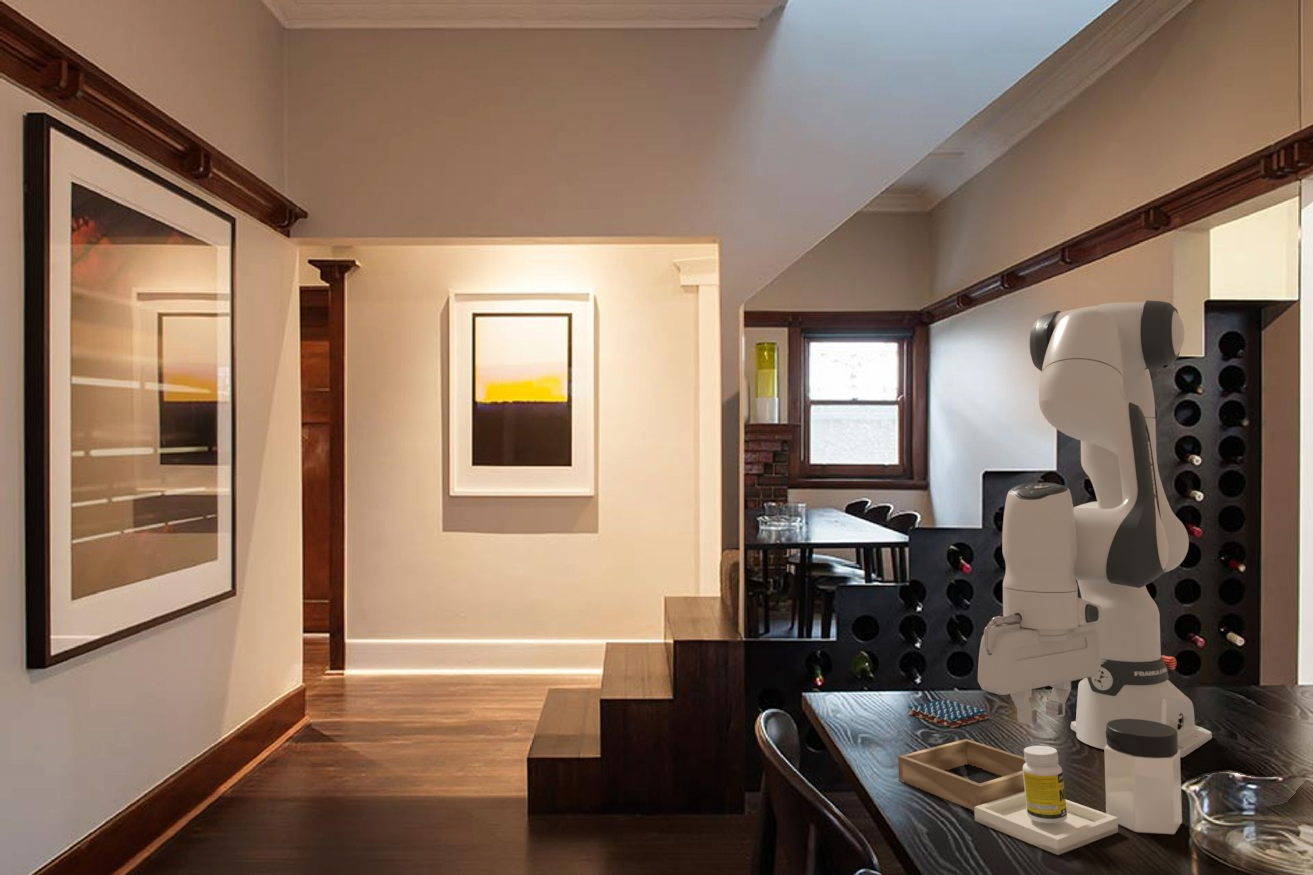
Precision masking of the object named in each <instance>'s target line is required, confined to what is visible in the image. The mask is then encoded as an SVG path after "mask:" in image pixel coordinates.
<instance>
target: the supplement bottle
mask: <svg viewBox="0 0 1313 875" xmlns="http://www.w3.org/2000/svg"><path fill="white" fill-rule="evenodd" d="M1023 757H1024V759H1025V762H1026V763H1025V764H1024V765H1023V779H1024V788H1025V798H1026V810H1027V815H1028V816H1029V817H1030V818H1031V819H1032V820H1034V821H1038V822H1042V823H1058V822H1062V821H1064V820H1066V818H1067V809H1066V800H1067V799H1066V794H1065V792H1066V791H1065V782H1064V772H1063V768H1062V767H1061V765H1060V764H1059V761H1060V760H1059V753H1058V750H1057V749H1056V748H1054V747H1052V746H1047V745H1032V746H1031V745H1030V746H1027V747H1025V748H1024V749H1023ZM1065 799H1066V800H1065Z"/></svg>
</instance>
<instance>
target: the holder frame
mask: <svg viewBox="0 0 1313 875" xmlns="http://www.w3.org/2000/svg"><path fill="white" fill-rule="evenodd" d="M897 761H898V781H899V782H902V781H904V782H906V783H905V784H907V783H908V784H907V785H909V784H911V785H910V786H912V787H914V786H915V788H917V789H919V788H920V789H919V790H921V791H924V792H927V793H929V794H932V795H934V796H936V797H939V798H941V799H944V800H947V801H948V802H952V803H954V804H957V805H958V806H961V807H964V808H967V809H970V810H971V809H972V811H973V812H975V809H974V807H976V806H979V805H982V804H985V803H988V802H992V801H995V800H998V799H1001V798H1004V797H1007V796H1011V795H1014V794H1017V793H1020V792H1023V791H1025V788H1024V779H1023V765H1024V764H1025V763H1026V762H1025V759H1024V756H1021V755H1019V754H1018V755H1017V754H1015V753H1011V752H1008V751H1005V750H1002V749H1000V748H997V747H993V746H990V745H987V744H983V743H980V742H977V741H974V740H971V739H968V738H965V739H960V740H955V741H953V742H949V743H945V744H940V745H937V746H932V747H929V748H925V749H921V750H918V751H914V752H909V753H906V754H902V755H899V756H898V759H897ZM965 764H966V765H968V764H970V765H969V766H971V765H972V766H971V767H974V766H976V767H975V768H977V767H978V769H980V768H982V769H981V770H983V771H986V772H989V773H992V774H995V775H997V776H1001V777H998V778H995V779H990V780H988V781H984V782H980V783H979V782H978V781H977V782H976V781H973V780H971V779H968V778H965V777H963V776H960V775H958V774H955V773H952V772H949V770H951V769H955V768H958V767H963V766H966V765H965ZM904 782H903V783H904Z"/></svg>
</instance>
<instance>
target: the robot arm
mask: <svg viewBox="0 0 1313 875" xmlns="http://www.w3.org/2000/svg"><path fill="white" fill-rule="evenodd" d="M1180 316H1181V315H1180V314H1179V311H1178V309H1177V308H1176V307H1175V306H1174V305H1173V304H1172V303H1171V302H1167V301H1162V300H1146V301H1145V302H1140V301H1139V302H1137V301H1135V302H1134V301H1133V302H1132V301H1131V302H1126V301H1125V302H1110V303H1109V302H1107V303H1101V304H1099V305H1092V306H1086V307H1079V308H1075V309H1070V310H1066V311H1060V310H1057V311H1051V312H1049V313H1046V314H1043V315H1041V316H1039V317H1038V318H1037V320H1035V322H1034V323H1033V324H1032V326H1031V328H1030V334H1029V338H1028V340H1029V341H1028V351H1029V353H1030V357H1031V361H1032V363H1033V366H1034V367H1035V368H1036V369H1037V370H1038V371H1039V372H1041V374H1040V379H1039V380H1040V381H1039V384H1038V385H1039V387H1038V403H1039V404H1038V406H1039V409H1040V411H1041V413H1042V415H1043V416H1044V418H1045V420H1046V421H1047V422H1048V424H1050V425H1051V426H1052V427H1054V428H1055V429H1056V430H1058V431H1059V432H1061V433H1062V434H1064V435H1065V436H1067V437H1070V438H1073V439H1075V440H1077V441H1080V464H1081V468H1082V469H1083V471H1084V472H1085V474H1086V475H1087V477H1088V478H1089V480H1090V483H1091V484H1092V487H1093V490H1094V491H1093V492H1094V493H1095V497H1096V501H1090V502H1087V503H1081V504H1079V505H1077V506H1076V505H1075V506H1074V503H1073V498H1072V494H1071V490H1070V488H1068V487H1067V486H1066V485H1062V484H1058V483H1054V482H1032V483H1031V482H1030V483H1023V484H1019V485H1016V486H1014V487H1012V488H1011V489H1009V491H1008V492H1007V495H1006V497H1005V498H1006V499H1005V505H1004V510H1003V521H1002V535H1001V537H1002V538H1001V541H1002V544H1001V545H1002V546H1001V547H1002V556H1003V560H1004V561H1005V562H1004V563H1005V574H1004V576H1003V581H1002V616H999V615H998V616H994V617H992V618H991V619H990V621H989V623H988V624H987V625H986V627H984V630H983V635H982V636H981V639H980V640H981V641H980V646H979V656H978V662H977V663H978V664H977V666H978V667H977V683H978V684H979V686H980V689H981V690H983V691H985V692H988V693H992V694H996V695H999V696H1000V695H1001V696H1005V695H1010V698H1011V699H1012V701H1013V703H1014V706H1015V707H1016V710H1017V711H1016V712H1017V714H1016V715H1017V716H1016V717H1017V721H1018V723H1021V724H1023V725H1027V726H1029V725H1031V724H1036V723H1037V721H1038V720H1037V719H1038V718H1037V715H1038V714H1037V712H1038V711H1037V710H1038V709H1037V708H1035V709H1034V708H1033V707H1032V704H1031V700H1030V698H1032V696H1033V695H1032V694H1033V692H1032V691H1033V690H1035V689H1039V688H1043V687H1048V686H1050V687H1052V689H1051V692H1050V693H1051V694H1050V697H1049V700H1046V701H1045V714H1046V715H1047V716H1048V717H1052V718H1055V719H1057V718H1062V717H1064V716H1065V715H1066V702H1067V701H1068V698H1069V696H1070V693H1071V691H1072V681H1077V680H1080V681H1079V682H1078V688H1077V698H1076V699H1077V701H1076V713H1075V714H1076V716H1075V717H1076V718H1075V720H1074V721H1071V723H1070V729H1071V730H1072V731H1073V732H1075V733H1076V738H1077V739H1078V740H1079V741H1080V742H1082V743H1084V744H1086V745H1089V746H1091V747H1093V748H1098V749H1100V750H1104V748H1105V746H1106V745H1107V738H1106V724H1107V723H1108V722H1109V721H1112V720H1116V719H1140V720H1148V721H1154V722H1158V723H1162V724H1165V725H1168V726H1170V727H1172V728H1174V729H1175V730H1176V731H1177V733H1178V749H1179V750H1180V758H1184V757H1187V755H1189V754H1191V753H1192V752H1194V751H1195V750H1196V749H1198V748H1200V747H1202V746H1203V745H1204V744H1206V743H1207V742H1208V741H1211V739H1212V738H1213V736H1212V735H1213V734H1212V731H1210V730H1208V729H1206V728H1204V727H1202V726H1198V725H1196V721H1195V719H1196V718H1195V708H1194V704H1193V702H1192V700H1191V699H1190V698H1189V697H1188V696H1187V695H1186V694H1185V693H1183V692H1182V691H1181V690H1180V689H1178V687H1176V686H1175V685H1174V684H1173V683H1172V682H1171V681H1170V680H1169V679H1170V677H1169V672H1168V669H1169V670H1175V669H1176V667H1177V659H1176V658H1175V657H1174V656H1166V655H1164V654H1163V655H1162V654H1161V651H1162V650H1161V649H1162V647H1161V623H1160V622H1161V619H1160V617H1161V616H1160V611H1159V608H1158V604H1156V602H1155V601H1154V599H1153V598H1152V597H1151V595H1150V593H1149V591H1148V589H1147V587H1146V586H1147V585H1149V584H1151V583H1152V582H1153V581H1155V580H1157V579H1158V578H1159V577H1161V575H1163V574H1164V573H1167V572H1170V571H1172V570H1175V569H1176V568H1177V567H1178V566H1180V565H1181V563H1182V562H1183V561H1184V560H1185V558H1186V556H1187V553H1188V551H1189V547H1190V546H1189V544H1190V541H1189V535H1188V534H1189V533H1188V531H1187V529H1186V527H1185V525H1184V524H1183V522H1182V521H1181V520H1180V519H1179V518H1178V517H1177V516H1176V514H1175V513H1174V511H1173V510H1172V508H1171V506H1170V503H1169V501H1168V499H1167V495H1166V493H1165V490H1164V487H1163V483H1162V481H1161V477H1160V472H1159V467H1158V460H1157V454H1158V453H1157V436H1156V434H1157V432H1156V431H1157V430H1156V427H1157V426H1156V405H1155V395H1154V388H1153V382H1152V378H1153V379H1155V378H1157V377H1159V376H1160V373H1161V371H1163V370H1165V369H1167V368H1169V367H1170V366H1171V365H1172V364H1174V363H1175V361H1176V360H1177V359H1178V358H1179V357H1180V353H1181V350H1182V347H1183V345H1184V340H1185V326H1184V324H1183V321H1182V319H1181V317H1180ZM1151 376H1152V378H1151ZM1078 589H1079V590H1078ZM1078 591H1079V592H1078ZM1078 593H1080V597H1078V596H1079V595H1078Z"/></svg>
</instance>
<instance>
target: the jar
mask: <svg viewBox="0 0 1313 875" xmlns="http://www.w3.org/2000/svg"><path fill="white" fill-rule="evenodd" d="M1106 738H1107V745H1106V746H1105V748H1104V749H1103V750H1104V782H1105V785H1104V786H1105V813H1106V814H1109V815H1112V816H1115V817H1118V826H1121V827H1123V828H1126V829H1127V830H1130V831H1132V832H1134V833H1140V834H1141V833H1142V834H1160V835H1175V834H1176V832H1177V831H1178V829H1179V828H1180V826H1181V824H1182V823H1183V816H1182V814H1183V813H1182V811H1183V809H1182V808H1183V807H1182V782H1181V781H1182V779H1181V778H1182V775H1181V774H1182V773H1181V757H1180V750H1179V749H1178V733H1177V731H1176V730H1175V729H1174V728H1172V727H1170V726H1168V725H1165V724H1162V723H1158V722H1154V721H1148V720H1140V719H1116V720H1112V721H1109V722H1108V723H1107V724H1106Z"/></svg>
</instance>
